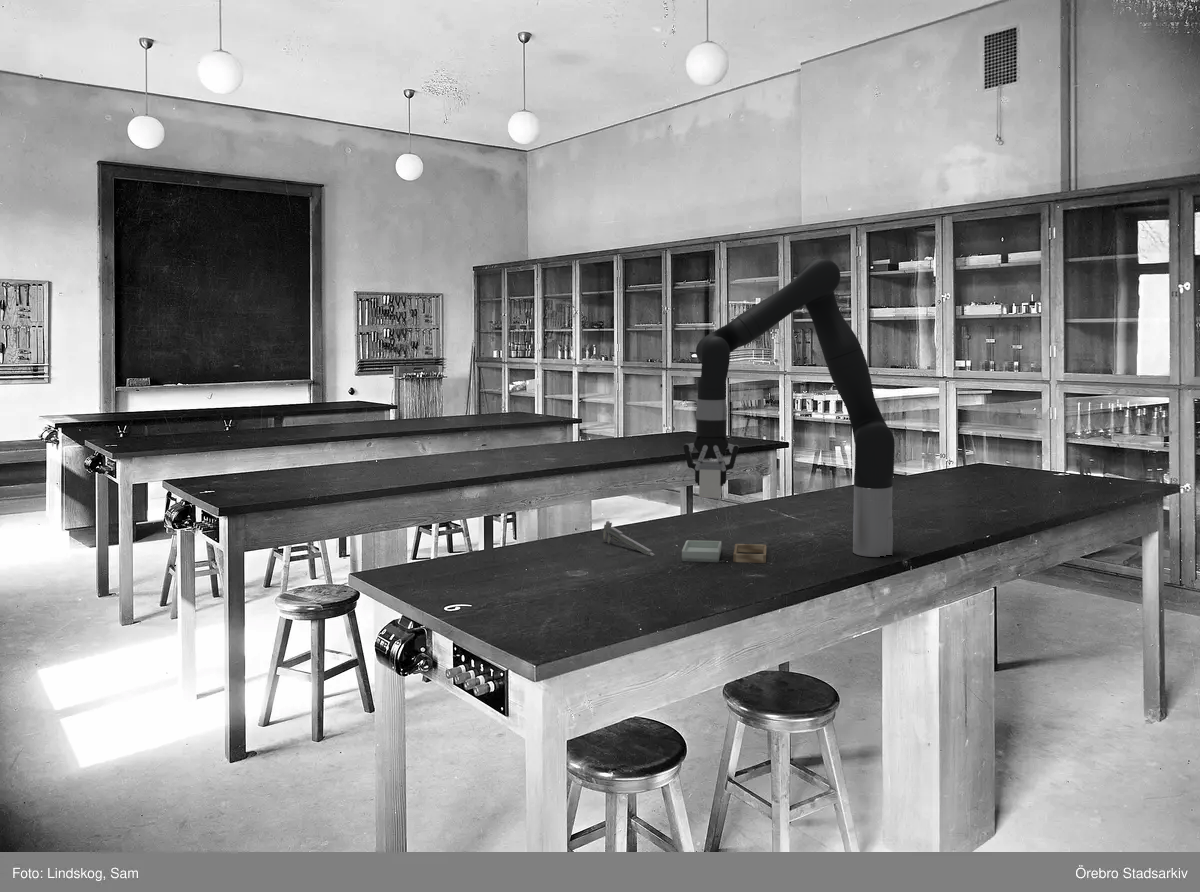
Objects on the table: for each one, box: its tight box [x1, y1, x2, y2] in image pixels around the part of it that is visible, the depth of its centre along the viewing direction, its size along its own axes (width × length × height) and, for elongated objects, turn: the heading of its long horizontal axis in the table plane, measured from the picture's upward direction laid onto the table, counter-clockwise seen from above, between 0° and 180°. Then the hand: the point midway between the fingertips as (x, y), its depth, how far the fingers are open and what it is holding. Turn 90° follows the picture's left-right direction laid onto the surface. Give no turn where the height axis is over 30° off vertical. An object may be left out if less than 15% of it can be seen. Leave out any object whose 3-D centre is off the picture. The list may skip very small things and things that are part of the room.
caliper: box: [602, 520, 655, 557], centre depth 240 cm, size 20×1×6 cm, turn 37°
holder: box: [732, 543, 767, 564], centre depth 229 cm, size 8×11×2 cm
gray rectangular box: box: [698, 460, 723, 499], centre depth 228 cm, size 5×8×8 cm, turn 169°
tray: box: [681, 539, 722, 563], centre depth 231 cm, size 9×12×2 cm
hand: (710, 485), depth 228 cm, fingers closed on gray rectangular box, 5 cm apart
